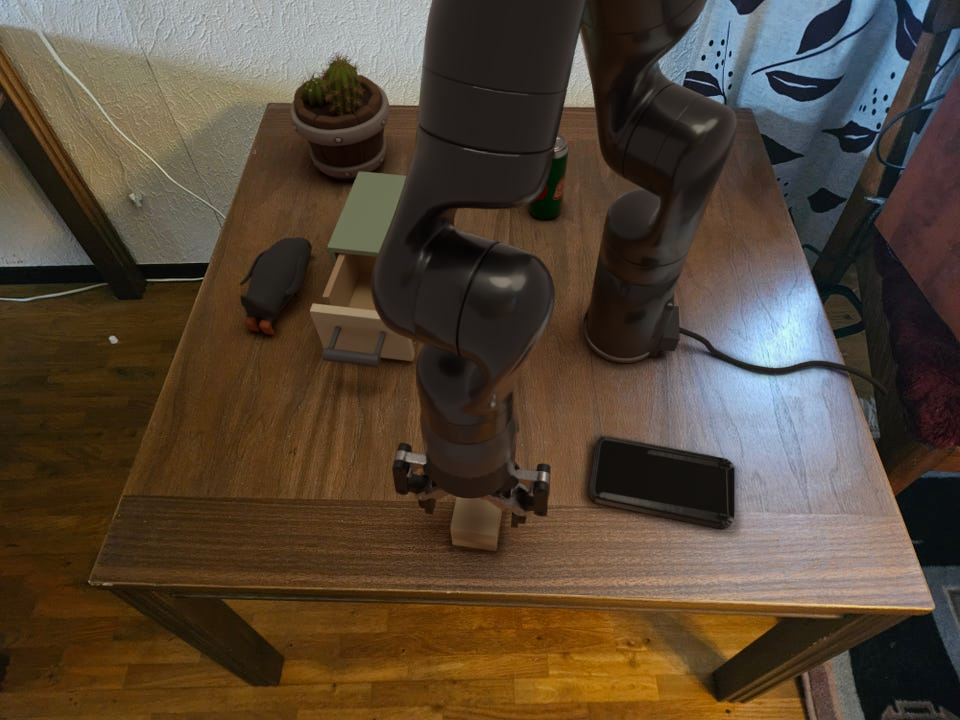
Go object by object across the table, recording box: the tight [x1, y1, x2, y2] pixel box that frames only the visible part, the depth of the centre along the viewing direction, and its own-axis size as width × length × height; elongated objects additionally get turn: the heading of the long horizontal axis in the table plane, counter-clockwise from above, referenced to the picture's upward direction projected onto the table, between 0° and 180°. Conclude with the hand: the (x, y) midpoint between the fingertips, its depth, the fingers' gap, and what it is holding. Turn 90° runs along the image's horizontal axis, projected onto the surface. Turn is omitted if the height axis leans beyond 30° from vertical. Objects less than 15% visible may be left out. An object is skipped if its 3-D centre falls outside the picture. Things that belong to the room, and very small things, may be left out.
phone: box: [588, 435, 736, 530], centre depth 69 cm, size 8×1×15 cm
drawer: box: [309, 253, 416, 368], centre depth 78 cm, size 18×11×8 cm, turn 171°
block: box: [449, 496, 503, 552], centre depth 65 cm, size 5×5×5 cm
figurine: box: [239, 236, 313, 336], centre depth 83 cm, size 7×10×15 cm
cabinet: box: [326, 171, 407, 269], centre depth 85 cm, size 15×13×10 cm
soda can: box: [527, 132, 570, 220], centre depth 90 cm, size 5×5×12 cm
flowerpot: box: [290, 51, 391, 181], centre depth 94 cm, size 14×15×20 cm
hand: (473, 511), depth 63 cm, fingers open, 8 cm apart
